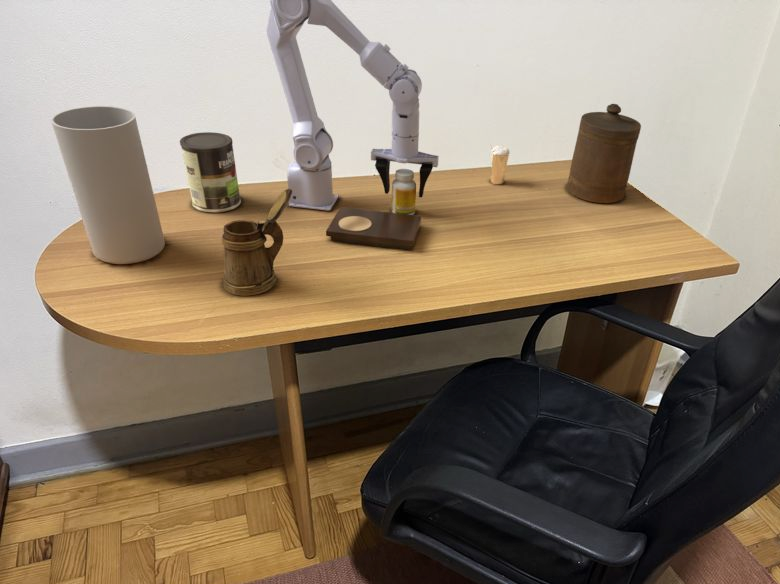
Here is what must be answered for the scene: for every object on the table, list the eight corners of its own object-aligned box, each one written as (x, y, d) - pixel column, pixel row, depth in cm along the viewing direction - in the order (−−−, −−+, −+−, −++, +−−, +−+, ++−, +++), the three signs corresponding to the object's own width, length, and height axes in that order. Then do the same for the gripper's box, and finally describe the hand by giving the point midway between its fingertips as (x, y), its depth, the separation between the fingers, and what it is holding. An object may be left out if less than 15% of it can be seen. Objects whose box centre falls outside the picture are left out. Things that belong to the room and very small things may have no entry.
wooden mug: (301, 293, 113) (292, 200, 102) (222, 297, 110) (204, 201, 99) (300, 268, 120) (292, 178, 109) (225, 271, 116) (209, 179, 106)
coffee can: (249, 197, 143) (240, 135, 134) (228, 215, 134) (217, 151, 126) (206, 190, 143) (195, 129, 135) (183, 209, 135) (169, 144, 127)
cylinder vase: (85, 244, 120) (42, 111, 105) (152, 229, 127) (121, 102, 112) (105, 272, 113) (62, 134, 98) (175, 254, 120) (145, 123, 105)
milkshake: (482, 179, 162) (486, 141, 156) (500, 177, 164) (505, 140, 158) (490, 186, 159) (494, 147, 153) (508, 184, 161) (513, 146, 155)
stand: (326, 241, 129) (325, 230, 127) (341, 217, 138) (340, 205, 137) (412, 251, 128) (413, 240, 127) (421, 226, 138) (421, 215, 136)
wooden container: (633, 193, 163) (656, 106, 150) (606, 209, 154) (627, 118, 140) (585, 176, 170) (602, 92, 157) (555, 190, 160) (571, 102, 147)
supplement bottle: (387, 210, 143) (387, 169, 137) (406, 205, 146) (407, 165, 140) (400, 219, 140) (401, 178, 134) (419, 214, 143) (421, 174, 137)
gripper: (367, 135, 129) (368, 197, 137) (436, 143, 129) (433, 204, 137) (374, 125, 135) (375, 185, 143) (440, 132, 134) (437, 192, 142)
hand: (404, 193), depth 140 cm, fingers open, 7 cm apart
